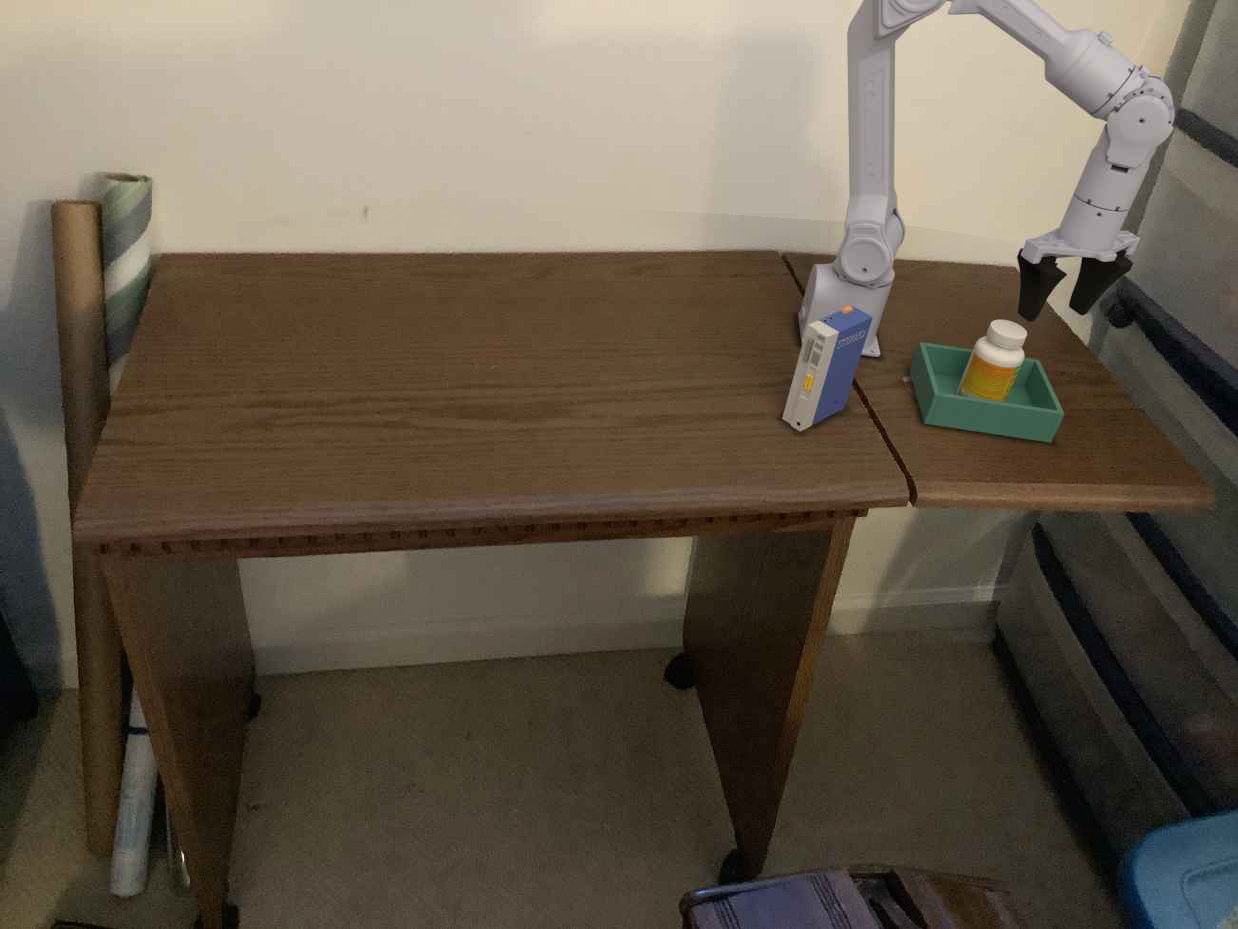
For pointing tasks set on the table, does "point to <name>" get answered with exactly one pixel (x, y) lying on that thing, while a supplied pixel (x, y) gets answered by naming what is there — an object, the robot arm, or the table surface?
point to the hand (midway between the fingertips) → (1051, 314)
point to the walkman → (826, 367)
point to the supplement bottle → (994, 362)
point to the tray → (1020, 416)
